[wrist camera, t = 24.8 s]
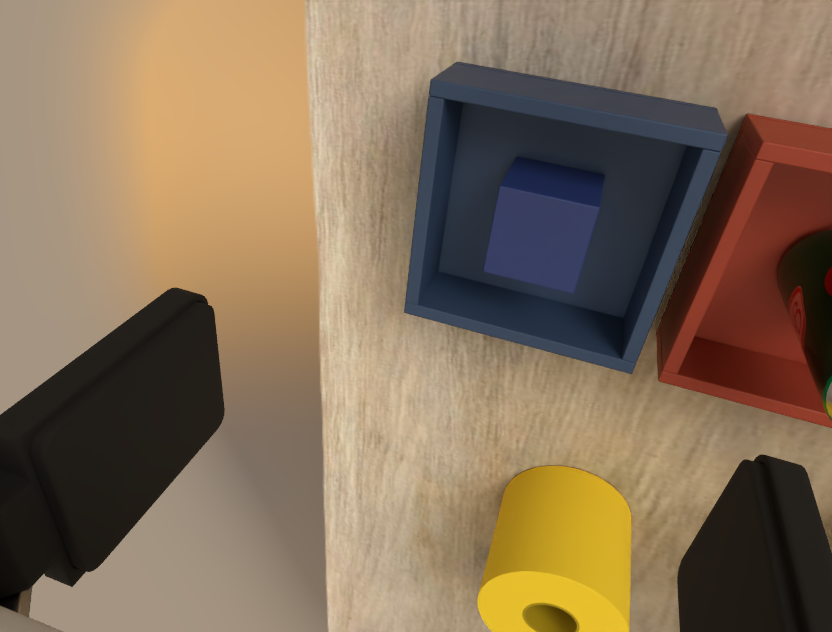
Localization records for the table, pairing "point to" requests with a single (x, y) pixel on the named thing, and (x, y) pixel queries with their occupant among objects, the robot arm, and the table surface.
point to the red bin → (751, 274)
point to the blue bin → (572, 147)
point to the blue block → (543, 223)
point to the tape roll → (559, 556)
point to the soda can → (811, 306)
